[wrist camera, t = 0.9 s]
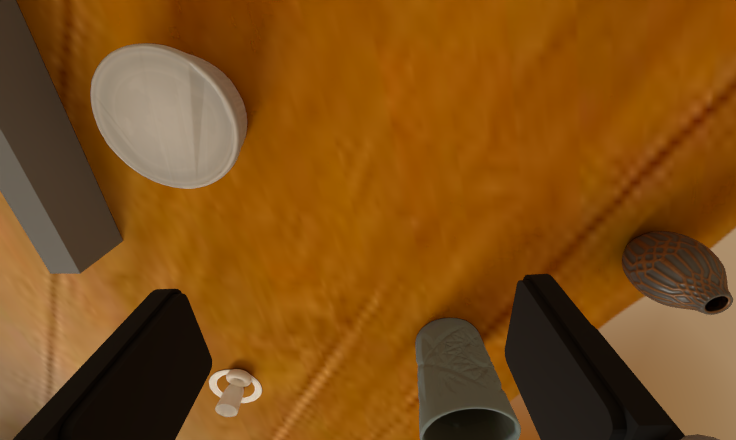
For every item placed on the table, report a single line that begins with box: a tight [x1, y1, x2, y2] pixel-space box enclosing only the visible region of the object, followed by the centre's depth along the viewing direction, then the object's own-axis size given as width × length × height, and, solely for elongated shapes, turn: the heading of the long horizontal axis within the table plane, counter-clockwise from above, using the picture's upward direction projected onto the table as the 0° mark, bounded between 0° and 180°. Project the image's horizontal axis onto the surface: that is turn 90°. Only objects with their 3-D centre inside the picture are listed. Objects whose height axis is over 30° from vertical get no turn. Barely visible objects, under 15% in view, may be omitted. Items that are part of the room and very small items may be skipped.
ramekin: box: [90, 43, 247, 189], centre depth 27 cm, size 11×11×5 cm
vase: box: [622, 231, 733, 315], centre depth 32 cm, size 7×7×9 cm
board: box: [0, 0, 123, 274], centre depth 27 cm, size 28×3×6 cm, turn 1°
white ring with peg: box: [209, 369, 262, 417], centre depth 47 cm, size 9×8×4 cm
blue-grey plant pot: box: [416, 318, 521, 440], centre depth 38 cm, size 10×10×12 cm
